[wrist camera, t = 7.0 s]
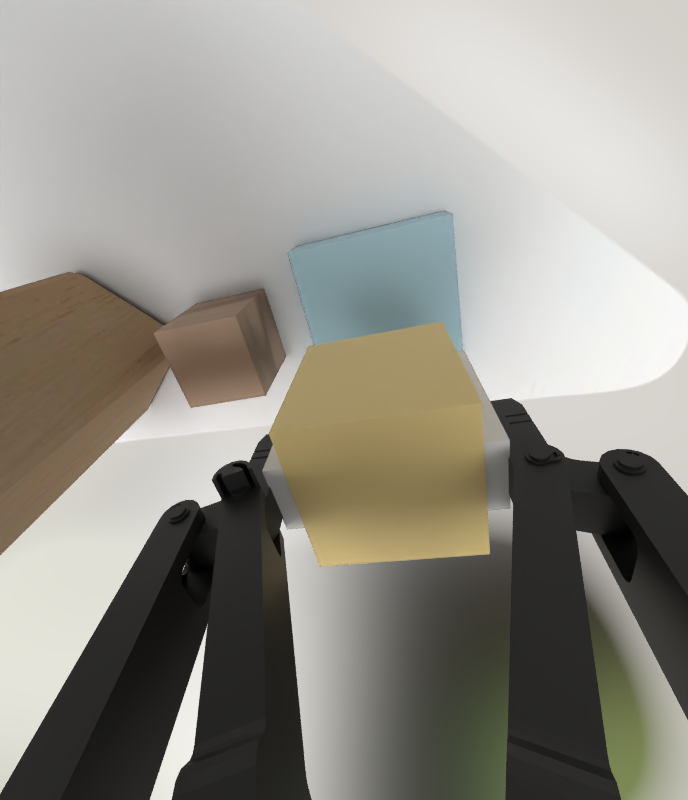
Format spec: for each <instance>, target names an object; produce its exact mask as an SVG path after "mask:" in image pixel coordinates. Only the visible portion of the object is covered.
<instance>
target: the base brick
mask: <svg viewBox="0 0 688 800" xmlns="http://www.w3.org/2000/svg"><path fill="white" fill-rule="evenodd" d="M288 256H289V259H290V263H291V266H292V270H293V273H294V277H295V280H296V284H297V287H298V291H299V294H300V298H301V301H302V305H303V308H304V312H305V316H306V319H307V323H308V326H309V330H310V333H311V337H312V340H313V344H314V345H319V344H324V343H329V342H335V341H340V340H345V339H351V338H356V337H362V336H367V335H372V334H378V333H383V332H388V331H394V330H399V329H404V328H410V327H415V326H420V325H426V324H431V323H436V322H443V324H444V326H445V328H446V330H447V332H448V334H449V336H450V338H451V340H452V342H453V345H454V347H455V349H456V351H460V350H463V349H462V336H461V322H460V309H459V296H458V282H457V269H456V255H455V242H454V228H453V215H452V214H451V213H449V212H447V211H442V212H438V213H433V214H429V215H425V216H421V217H417V218H413V219H408V220H404V221H400V222H396V223H392V224H388V225H383V226H379V227H375V228H371V229H367V230H363V231H358V232H354V233H350V234H346V235H342V236H338V237H333V238H329V239H325V240H321V241H317V242H313V243H308V244H304V245H300V246H296V247H295V248H293V249H292V250H291V251H290V252H288Z"/></svg>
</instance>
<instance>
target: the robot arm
mask: <svg viewBox="0 0 688 800" xmlns="http://www.w3.org/2000/svg"><path fill="white" fill-rule="evenodd" d="M457 353H458V355H459V357H460V359H461V361H462V363H463V365H464V367H465V369H466V371H467V373H468V376H469V378H470V380H471V382H472V384H473V386H474V388H475V390H476V392H477V394H478V396H479V398H480V400H481V402H482V418H483V436H484V455H485V473H486V491H487V510H488V511H489V510H500V509H509V508H510V497H511V500H512V502H513V541H512V583H511V626H510V666H509V708H508V712H509V713H508V714H509V715H508V738H507V762H506V800H621V797H620V794H619V790H618V786H617V782H616V780H615V778H614V776H613V774H612V772H611V769H610V766H609V760H608V754H607V747H606V740H605V733H604V726H603V720H602V712H601V705H600V698H599V691H598V683H597V676H596V669H595V662H594V655H593V648H592V641H591V634H590V627H589V619H588V612H587V605H586V598H585V591H584V584H583V576H582V569H581V562H580V555H579V548H578V541H577V534H576V530H577V531H582V532H588V533H592V534H593V537H594V539H595V541H596V543H597V545H598V547H599V548H600V550H601V552H602V554H603V556H604V558H605V560H606V562H607V564H608V566H609V568H610V569H611V572H612V574H613V576H614V578H615V580H616V582H617V583H618V585H619V587H620V589H621V591H622V593H623V595H624V597H625V599H626V601H627V603H628V605H629V606H630V609H631V611H632V613H633V614H634V616H635V618H636V620H637V622H638V624H639V626H640V628H641V630H642V632H643V634H644V636H645V638H646V640H647V642H648V644H649V646H650V647H651V649H652V651H653V653H654V655H655V657H656V659H657V661H658V663H659V665H660V667H661V669H662V671H663V673H664V675H665V677H666V678H667V680H668V682H669V684H670V686H671V688H672V690H673V692H674V694H675V696H676V698H677V700H678V702H679V704H680V706H681V707H682V710H683V711H684V713H685V715H686V717H687V719H688V495H687V494H686V493H685V492H684V491H683V490H682V489H681V487H680V486H679V485H678V484H677V483H676V482H675V481H674V479H673V478H672V477H671V476H670V475H669V474H668V473H667V471H666V470H665V469H664V468H663V467H662V466H661V465H660V464H659V462H657V461H656V460H655V459H654V458H652V457H651V456H648V455H646V454H643V453H642V452H638V451H633V450H627V449H616V450H611V451H608V452H606V453H605V454H603V455H602V456H601V458H600V461H599V462H591V461H580V460H574V459H570V458H566V457H565V456H564V454H563V453H562V452H561V451H560V450H558V449H557V448H555V447H553V446H550V445H548V444H547V443H546V441H545V439H544V438H543V436H542V435H541V433H540V432H539V430H538V429H537V427H536V425H535V424H534V422H533V421H532V420H531V418H530V416H529V415H528V414H527V412H526V410H525V408H524V407H523V405H522V404H520V403H519V402H517V401H515V400H514V399H512V398H509V399H502V400H496V401H490V400H489V398H488V396H487V394H486V393H485V391H484V389H483V387H482V385H481V383H480V381H479V379H478V377H477V375H476V373H475V371H474V369H473V367H472V365H471V363H470V361H469V359H468V357H467V355H466V353H465V351H464V350H460V351H457ZM254 452H255V453H253V456H252V458H251V460H250V462H247V461H235V462H231V463H229V464H227V465H225V466H223V467H222V468H221V469H219V470H218V471H217V472H216V474H215V475H214V476H213V479H212V481H213V483H214V485H215V487H216V489H217V491H218V493H219V495H220V496H221V498H222V499H221V501H219V502H217V503H214V504H211V505H209V506H205V507H203V508H200V506H199V504H198V503H197V502H195V501H194V500H185V501H182V502H179V503H177V504H175V505H173V506H172V507H170V508H169V509H168V510H167V511H166V512H165V513H164V514H163V515H162V517H161V518H160V520H159V521H158V523H157V525H156V527H155V528H154V530H153V532H152V533H151V535H150V537H149V539H148V540H147V542H146V544H145V545H144V547H143V549H142V551H141V553H140V554H139V556H138V558H137V560H136V561H135V563H134V564H133V566H132V568H131V570H130V571H129V573H128V575H127V577H126V578H125V580H124V582H123V583H122V585H121V587H120V589H119V590H118V592H117V594H116V595H115V597H114V599H113V601H112V602H111V604H110V606H109V607H108V609H107V611H106V613H105V614H104V616H103V618H102V620H101V621H100V623H99V625H98V627H97V628H96V630H95V632H94V633H93V635H92V637H91V639H90V640H89V642H88V644H87V645H86V647H85V649H84V651H83V652H82V654H81V656H80V658H79V659H78V661H77V663H76V665H75V666H74V668H73V670H72V671H71V673H70V675H69V676H68V678H67V680H66V682H65V683H64V685H63V687H62V689H61V690H60V692H59V694H58V695H57V697H56V699H55V701H54V702H53V704H52V706H51V707H50V709H49V711H48V713H47V714H46V716H45V718H44V720H43V721H42V723H41V725H40V727H39V728H38V730H37V732H36V733H35V735H34V737H33V739H32V740H31V742H30V744H29V746H28V747H27V749H26V751H25V752H24V754H23V756H22V757H21V759H20V761H19V763H18V764H17V766H16V768H15V770H14V771H13V773H12V775H11V777H10V778H9V780H8V782H7V783H6V785H5V787H4V788H3V790H2V792H1V794H0V800H150V796H151V793H152V791H153V788H154V785H155V781H156V779H157V775H158V773H159V769H160V766H161V763H162V760H163V757H164V754H165V751H166V748H167V745H168V742H169V739H170V736H171V733H172V730H173V727H174V724H175V721H176V718H177V715H178V712H179V709H180V706H181V703H182V700H183V697H184V693H185V691H186V687H187V685H188V682H189V679H190V676H191V672H192V669H193V666H194V663H195V660H196V657H197V654H198V651H199V648H200V645H201V642H202V639H203V636H204V633H205V630H206V627H207V624H208V627H207V636H206V646H205V654H204V663H203V672H202V681H201V691H200V700H199V709H198V718H197V728H196V736H195V745H194V750H193V755H192V757H191V759H190V761H189V762H188V763H187V764H186V765H185V766H184V767H183V768H181V770H180V773H179V775H178V777H177V779H176V782H175V787H174V792H173V796H172V800H312V799H311V796H310V793H309V789H308V784H307V779H306V771H305V761H304V750H303V740H302V729H301V719H300V708H299V698H298V688H297V677H296V666H295V656H294V645H293V634H292V624H291V613H290V603H289V592H288V582H287V572H286V561H285V550H284V540H283V536H282V533H281V531H280V526H281V522H282V519H283V521H284V523H285V525H286V528H287V529H298V528H305V526H304V524H303V521H302V519H301V516H300V513H299V511H298V508H297V506H296V503H295V501H294V498H293V495H292V493H291V490H290V488H289V485H288V482H287V480H286V477H285V475H284V472H283V469H282V467H281V464H280V462H279V459H278V457H277V454H276V451H275V449H274V446H273V444H272V441H271V438H270V436H269V434H268V435H266V436H265V437H264V438H263V439H262V440H261V441H260V442H259V443H258V445H257V447H256V449H255V451H254ZM184 565H185V567H184ZM183 568H184V570H183ZM182 571H183V572H182Z"/></svg>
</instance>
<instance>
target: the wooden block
mask: <svg viewBox="0 0 688 800" xmlns="http://www.w3.org/2000/svg"><path fill="white" fill-rule="evenodd" d="M163 326H164V325H163V324H161V323H159V322H158V321H156V320H155V319H153V318H151V317H150V316H148V315H146V314H145V313H143V312H142V311H140V310H138V309H137V308H135V307H134V306H132V305H130V304H129V303H127V302H126V301H124V300H122V299H121V298H119V297H118V296H116V295H114V294H113V293H111V292H110V291H108V290H106V289H105V288H103V287H102V286H100V285H98V284H97V283H95V282H94V281H92V280H90V279H89V278H87V277H86V276H84V275H81V274H78V273H73V272H67V273H64V274H60V275H57V276H54V277H50V278H47V279H43V280H40V281H36V282H33V283H30V284H26V285H23V286H19V287H16V288H13V289H9V290H6V291H2V292H0V555H1V554H2V553H3V552H4V551H5V550H6V549H7V548H8V547H9V546H10V545H11V544H12V543H13V542H14V541H15V540H16V539H17V538H18V537H19V536H20V535H21V534H22V533H23V532H24V531H25V530H26V529H27V528H28V527H29V526H30V525H31V524H32V523H33V522H34V521H35V520H36V519H37V518H38V517H39V516H40V515H41V514H42V513H43V512H44V511H45V510H46V509H47V508H48V507H49V506H50V505H51V504H53V502H55V501H56V500H57V499H58V498H59V496H61V495H62V494H63V492H64V491H65V490H66V489H68V488H69V487H70V486H71V485H72V484H73V483H74V482H75V481H76V480H77V479H78V478H79V477H80V476H81V475H82V474H83V473H84V472H85V471H86V470H87V469H88V468H89V467H90V466H91V465H92V464H93V463H94V462H95V461H96V460H97V459H98V458H99V457H100V456H101V455H102V454H103V453H104V452H105V451H106V450H107V449H108V448H109V447H110V446H111V445H112V444H113V443H114V442H115V441H116V440H117V439H118V438H119V437H120V436H121V435H122V434H123V433H124V432H125V431H126V430H127V429H128V428H129V427H130V426H131V425H132V424H133V423H134V422H135V421H136V420H137V419H138V418H139V417H140V416H141V415H142V414H143V413H144V412H145V411H146V410H147V409H148V407H149V405H150V403H151V401H152V400H153V398H154V396H155V394H156V392H157V390H158V388H159V386H160V384H161V382H162V380H163V378H164V376H165V374H166V372H167V370H168V368H169V366H170V365H169V363H168V361H167V359H166V357H165V355H164V353H163V351H162V349H161V347H160V345H159V343H158V341H157V339H156V337H155V335H154V332H156V331H157V330H159V329H160V328H162V327H163Z"/></svg>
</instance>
